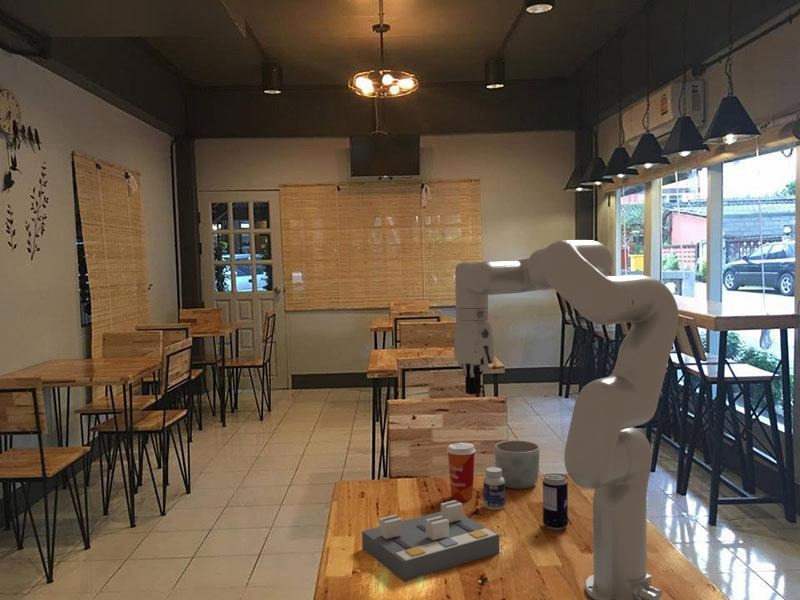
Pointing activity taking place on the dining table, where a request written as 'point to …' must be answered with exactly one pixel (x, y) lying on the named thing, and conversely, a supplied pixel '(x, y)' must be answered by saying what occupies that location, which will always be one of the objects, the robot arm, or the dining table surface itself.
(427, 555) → the console
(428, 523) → the slider
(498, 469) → the pill bottle
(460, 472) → the paper cup
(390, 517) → the slider
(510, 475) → the planter
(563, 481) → the beverage can
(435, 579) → the dining table surface
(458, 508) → the slider
